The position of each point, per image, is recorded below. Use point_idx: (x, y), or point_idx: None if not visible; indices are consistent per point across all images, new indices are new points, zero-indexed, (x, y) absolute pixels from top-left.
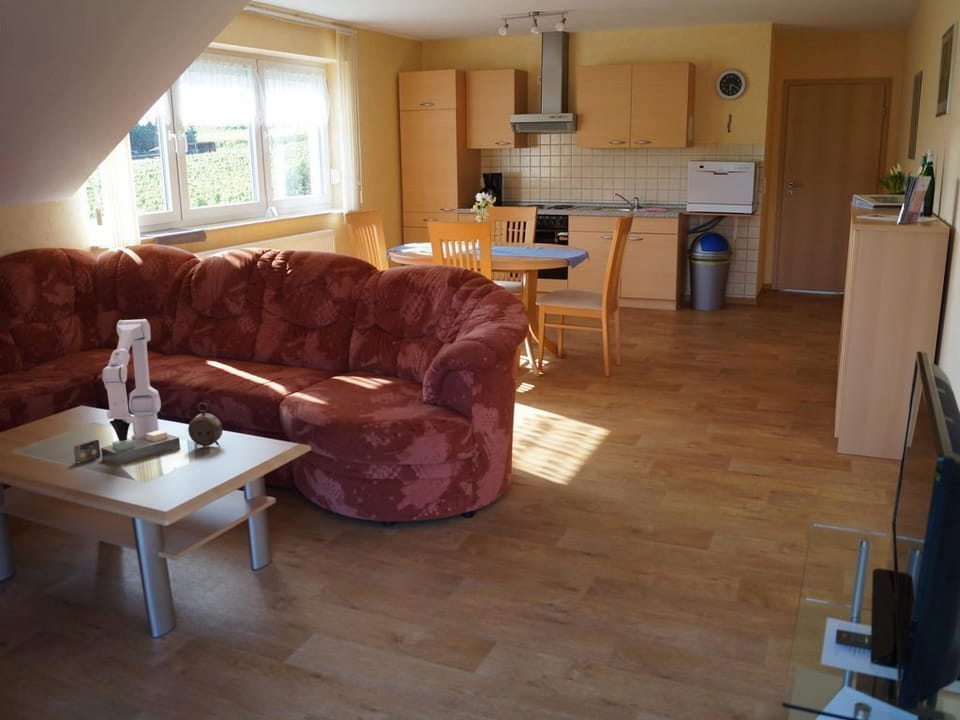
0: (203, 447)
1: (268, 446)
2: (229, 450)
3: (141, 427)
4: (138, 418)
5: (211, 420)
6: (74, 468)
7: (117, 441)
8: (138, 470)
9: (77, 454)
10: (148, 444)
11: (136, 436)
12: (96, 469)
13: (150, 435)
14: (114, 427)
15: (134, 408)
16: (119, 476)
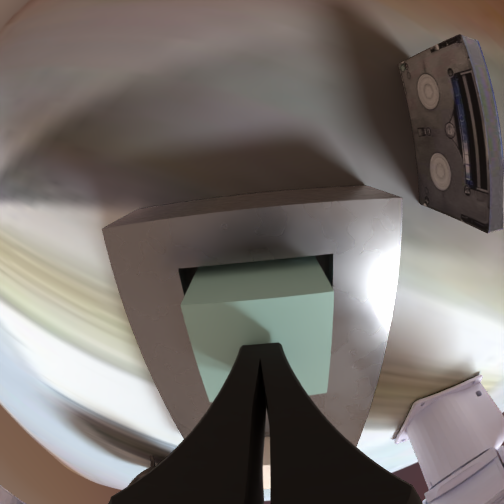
0: (152, 460)
1: (102, 477)
2: (110, 459)
3: (449, 431)
4: (470, 451)
5: None
6: (312, 9)
7: (308, 328)
8: (30, 248)
9: (426, 54)
10: (196, 417)
11: (465, 387)
12: (178, 80)
13: (264, 462)
14: (294, 459)
15: (495, 473)
16: (10, 160)
